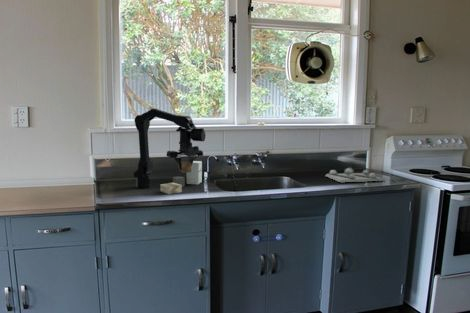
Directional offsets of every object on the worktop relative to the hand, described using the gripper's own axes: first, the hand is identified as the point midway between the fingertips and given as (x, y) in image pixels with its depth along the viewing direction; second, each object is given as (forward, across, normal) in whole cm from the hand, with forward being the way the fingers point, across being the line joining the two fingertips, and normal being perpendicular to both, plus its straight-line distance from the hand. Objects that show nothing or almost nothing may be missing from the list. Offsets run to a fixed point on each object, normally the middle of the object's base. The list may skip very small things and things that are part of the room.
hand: (184, 169), depth 213 cm
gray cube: (+12, +2, +13) cm, 17 cm away
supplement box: (+12, +13, +15) cm, 23 cm away
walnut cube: (+1, 0, 0) cm, 1 cm away
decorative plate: (+10, +106, -22) cm, 108 cm away
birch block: (+12, -7, +2) cm, 14 cm away
